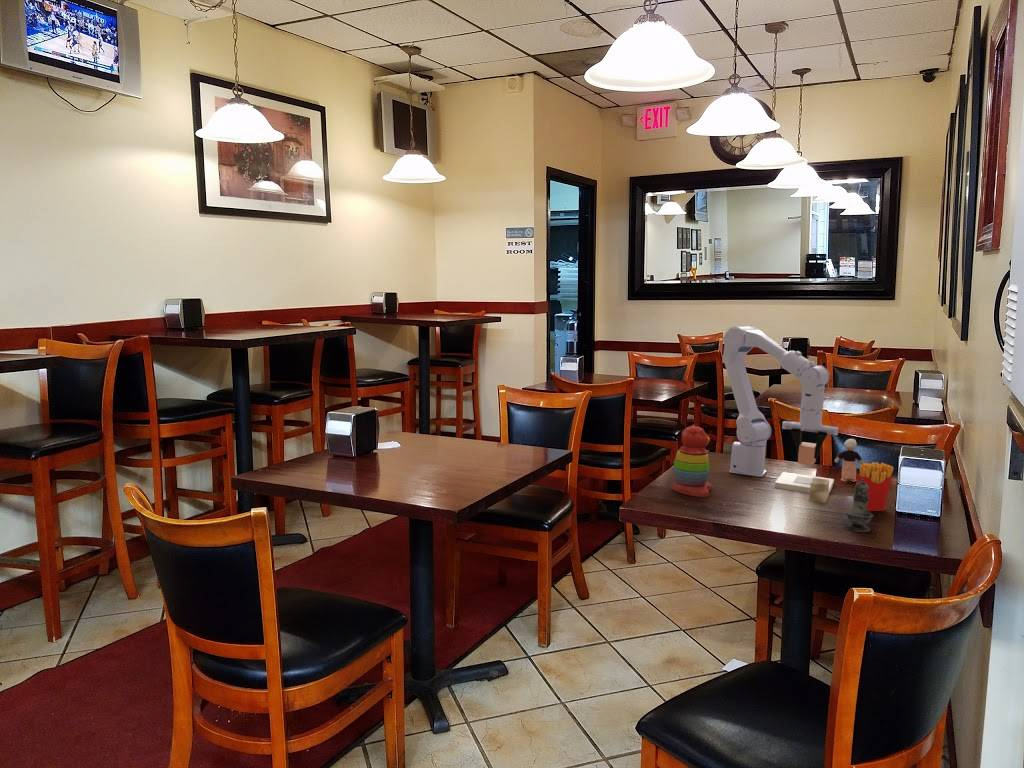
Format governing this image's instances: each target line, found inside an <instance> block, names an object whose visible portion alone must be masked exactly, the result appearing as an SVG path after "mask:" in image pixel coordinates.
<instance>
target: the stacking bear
mask: <svg viewBox="0 0 1024 768" xmlns="http://www.w3.org/2000/svg"><path fill="white" fill-rule="evenodd" d="M710 441H711V438H710V437H709V435H708V434H707V433H706V432H705V429H704V428H702V427H700V426H696V425H695V424H692V425H690V426H688V427H685V428H684V429H683V431H682V432H681V442H682V446H680V448H679V449H678V450H677V451H676V454H675V459H674V463H673V474H674V480H675V482H674V484H673V486H672V488H673V490H674V491H675V492H677V493H680V494H683V495H686V496H691V497H692V496H693V497H699V498H708V497H709V496H710V491H712V488H713V487H712V484H711V483H710V482H707V481H708V477H709V474H710V460H709V454H708V450H707V449H706V446H708V445H709V443H710Z"/></svg>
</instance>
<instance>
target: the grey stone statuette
mask: <svg viewBox="0 0 1024 768" xmlns="http://www.w3.org/2000/svg"><path fill="white" fill-rule="evenodd" d="M868 490H869V486H868V484H866V483H865V482H864V479H862V480H861V482H858V483H857V482H856V483H855V486H854V495H852V498H853V504H852V507H851V509H847V510H846V511H845V514H846V518H847V521H849V522H850V523H848V524H845V528H846V529H849V530H851V531H854V532H860V533H861V532H862V533H866V532H870V531H871V528H870V527H869V526H867V525H868V524H869V523H870V522H871V520H872V518H873V517H874V515H873V513H872V512H870V511H868V510H867V503H868V500H869V498H868Z"/></svg>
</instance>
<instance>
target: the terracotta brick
mask: <svg viewBox="0 0 1024 768" xmlns="http://www.w3.org/2000/svg"><path fill="white" fill-rule="evenodd" d="M815 449H816V443H813V442H806V441H801V444H800V445H799V454H798V456H797V457H798V458H797V464H800V465H801V464H802V465H806V466H814V464H815V463H816V461H817V459H814V456H815Z"/></svg>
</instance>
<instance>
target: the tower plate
mask: <svg viewBox="0 0 1024 768" xmlns="http://www.w3.org/2000/svg"><path fill="white" fill-rule="evenodd" d="M813 478H820V479H827V480H829V490H828V497H829V496H830V494H829V493H831V491H832V489H833V487H834V485H833V484H834V483H835V479H834V478H828V477H827V478H826V477H822V476H815V475H808V474H799V473H795V472H794V473H793V472H787V471H782V473H781V474H780V475H779V477H778V478H777V479H776V481H775V482H774V488H775V489H783V490H788V491H793V492H794V491H795V492H800V493H801V492H802V493H807V494H810V485H811V481H812V479H813Z"/></svg>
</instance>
